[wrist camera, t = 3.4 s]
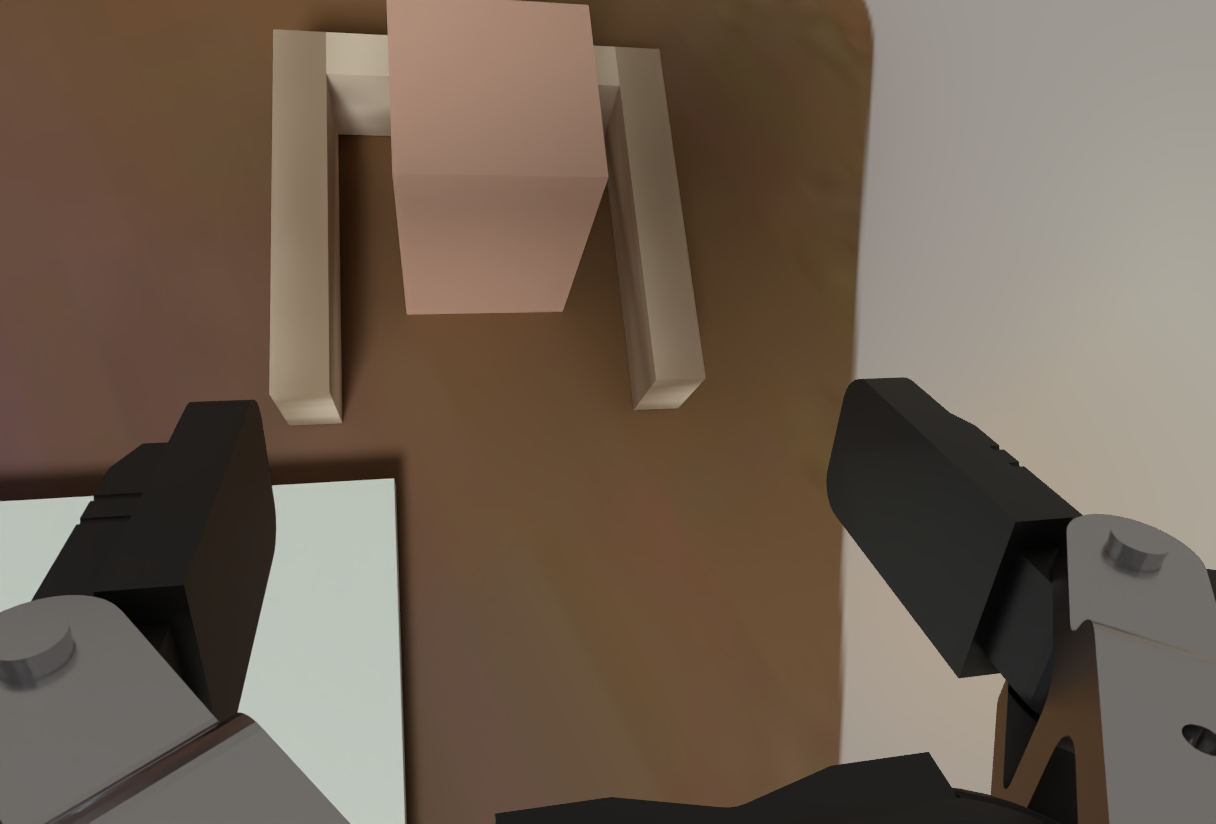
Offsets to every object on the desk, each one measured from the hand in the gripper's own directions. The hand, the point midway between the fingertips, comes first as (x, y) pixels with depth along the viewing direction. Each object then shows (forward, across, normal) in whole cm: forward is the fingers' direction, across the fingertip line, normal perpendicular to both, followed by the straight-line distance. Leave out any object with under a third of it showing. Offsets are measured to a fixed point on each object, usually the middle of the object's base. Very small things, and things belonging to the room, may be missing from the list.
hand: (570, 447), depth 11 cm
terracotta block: (+17, 0, +2) cm, 18 cm away
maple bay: (+17, 0, +2) cm, 17 cm away
